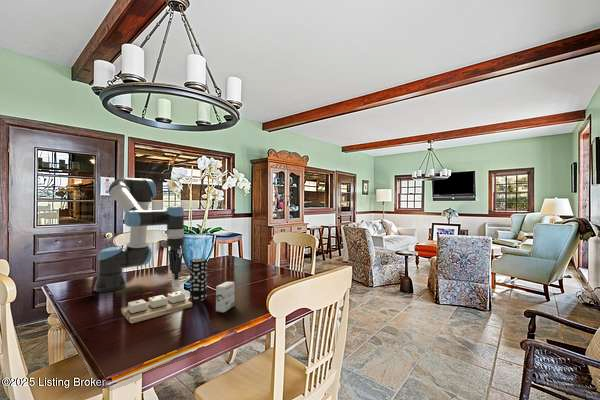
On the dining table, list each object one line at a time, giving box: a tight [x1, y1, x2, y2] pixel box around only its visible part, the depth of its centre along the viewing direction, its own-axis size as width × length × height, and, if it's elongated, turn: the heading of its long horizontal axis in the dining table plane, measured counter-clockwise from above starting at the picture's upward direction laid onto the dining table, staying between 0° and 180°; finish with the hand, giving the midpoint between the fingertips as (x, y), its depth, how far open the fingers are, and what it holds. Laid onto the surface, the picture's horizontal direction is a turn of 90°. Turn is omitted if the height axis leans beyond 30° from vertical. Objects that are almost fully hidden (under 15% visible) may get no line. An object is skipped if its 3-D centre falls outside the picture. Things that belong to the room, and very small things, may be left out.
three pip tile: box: [167, 290, 186, 304], centre depth 135 cm, size 6×6×3 cm
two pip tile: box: [148, 294, 167, 309], centre depth 129 cm, size 6×6×3 cm
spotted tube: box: [189, 258, 208, 302], centre depth 144 cm, size 8×8×20 cm
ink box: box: [215, 281, 236, 313], centre depth 131 cm, size 9×5×12 cm, turn 158°
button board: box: [120, 296, 193, 324], centre depth 129 cm, size 16×26×2 cm, turn 135°
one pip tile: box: [127, 299, 148, 314], centre depth 123 cm, size 6×6×3 cm
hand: (175, 285), depth 135 cm, fingers closed
